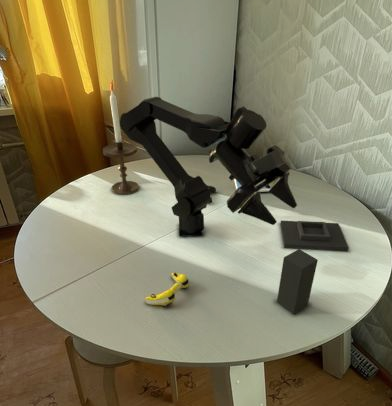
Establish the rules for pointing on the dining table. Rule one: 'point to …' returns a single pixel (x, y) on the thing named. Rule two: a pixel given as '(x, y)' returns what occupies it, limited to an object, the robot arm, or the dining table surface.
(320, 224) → the base pad
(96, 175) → the dining table surface
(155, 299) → the yellow toy animal
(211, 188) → the gaming controller
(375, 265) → the dining table surface
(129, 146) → the candlestick
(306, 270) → the dark rectangular block
